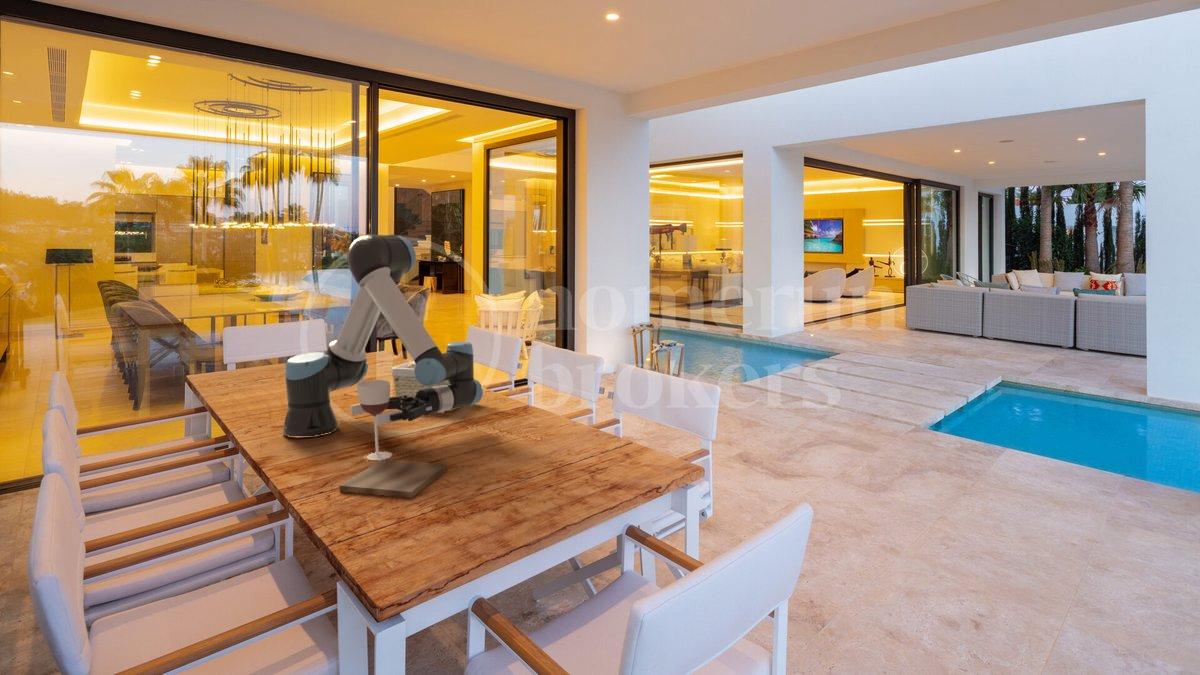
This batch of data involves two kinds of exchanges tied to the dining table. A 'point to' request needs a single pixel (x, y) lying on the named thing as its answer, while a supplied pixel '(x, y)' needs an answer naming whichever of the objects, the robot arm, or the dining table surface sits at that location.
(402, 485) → the walnut board
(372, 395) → the wineglass
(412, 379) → the storage basket
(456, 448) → the dining table surface
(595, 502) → the dining table surface
